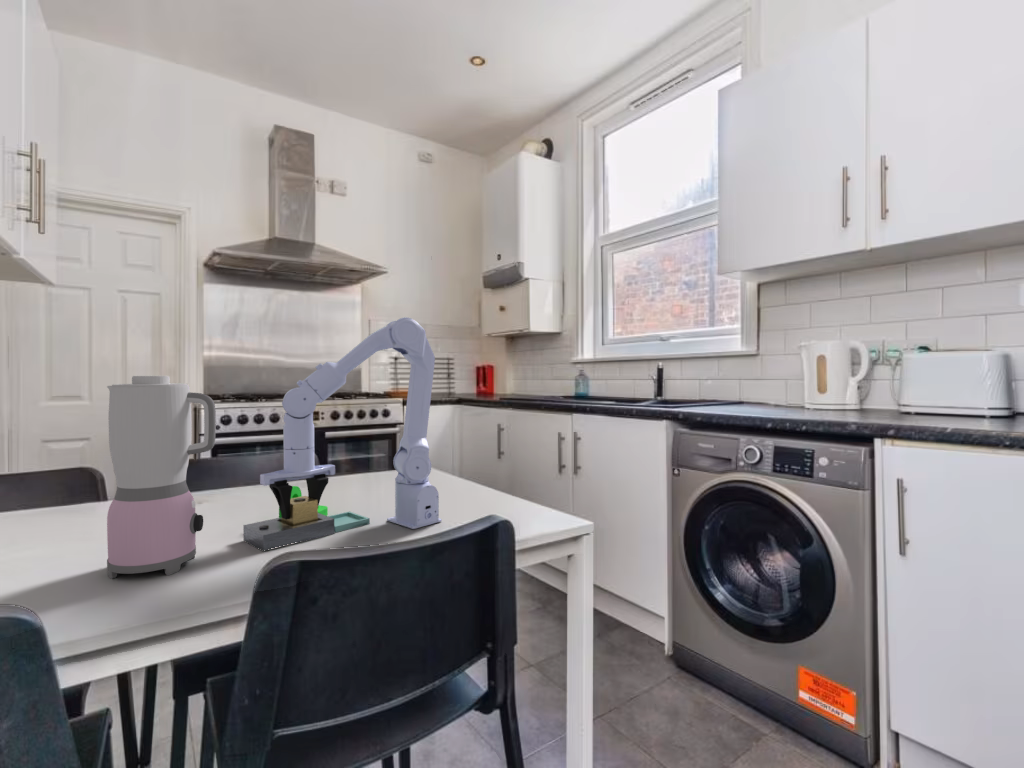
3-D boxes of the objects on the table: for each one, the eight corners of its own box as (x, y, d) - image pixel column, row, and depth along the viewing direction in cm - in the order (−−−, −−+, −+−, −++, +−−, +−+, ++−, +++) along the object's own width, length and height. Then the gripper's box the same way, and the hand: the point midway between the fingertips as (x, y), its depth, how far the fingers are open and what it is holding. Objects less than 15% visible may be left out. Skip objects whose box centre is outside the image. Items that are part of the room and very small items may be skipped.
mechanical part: (305, 527, 108) (306, 488, 108) (278, 526, 108) (279, 488, 109) (332, 514, 120) (332, 479, 120) (307, 513, 120) (308, 479, 121)
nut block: (317, 534, 104) (317, 499, 104) (293, 540, 100) (293, 503, 100) (305, 529, 107) (305, 495, 107) (281, 535, 103) (281, 499, 103)
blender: (90, 585, 79) (87, 376, 78) (125, 557, 91) (122, 375, 90) (207, 574, 83) (204, 376, 83) (225, 549, 95) (223, 375, 94)
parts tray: (369, 523, 111) (369, 518, 111) (335, 532, 105) (335, 526, 105) (349, 516, 116) (349, 511, 116) (315, 524, 110) (315, 519, 110)
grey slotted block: (334, 533, 104) (334, 517, 104) (263, 551, 94) (263, 533, 94) (312, 524, 110) (312, 509, 110) (243, 540, 100) (243, 523, 100)
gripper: (323, 442, 111) (323, 504, 112) (253, 449, 100) (253, 519, 101) (340, 445, 106) (340, 510, 107) (268, 453, 96) (269, 526, 96)
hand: (299, 515), depth 103 cm, fingers closed on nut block, 5 cm apart
